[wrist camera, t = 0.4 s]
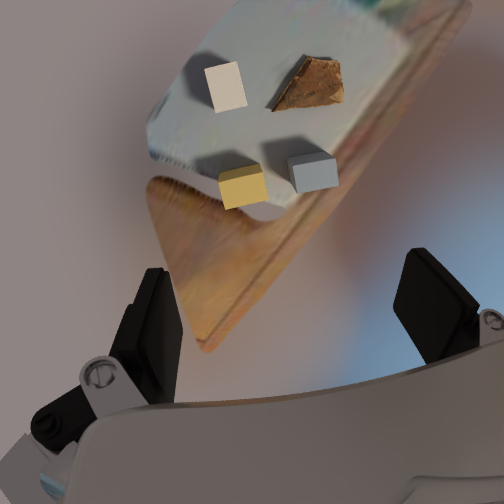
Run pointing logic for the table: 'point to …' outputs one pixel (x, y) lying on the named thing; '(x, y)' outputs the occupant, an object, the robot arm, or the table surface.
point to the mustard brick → (242, 186)
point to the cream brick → (225, 87)
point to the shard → (313, 86)
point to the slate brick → (312, 171)
